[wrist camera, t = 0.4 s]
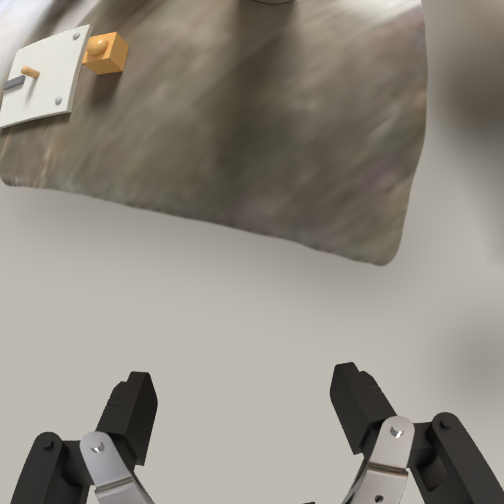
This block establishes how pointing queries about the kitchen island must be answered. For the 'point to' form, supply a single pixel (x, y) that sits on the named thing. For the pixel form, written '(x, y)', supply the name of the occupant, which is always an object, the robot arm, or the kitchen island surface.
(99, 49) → the cube with dome knob
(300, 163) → the kitchen island surface
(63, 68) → the plate
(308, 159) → the kitchen island surface
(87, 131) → the kitchen island surface
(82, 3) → the kitchen island surface
